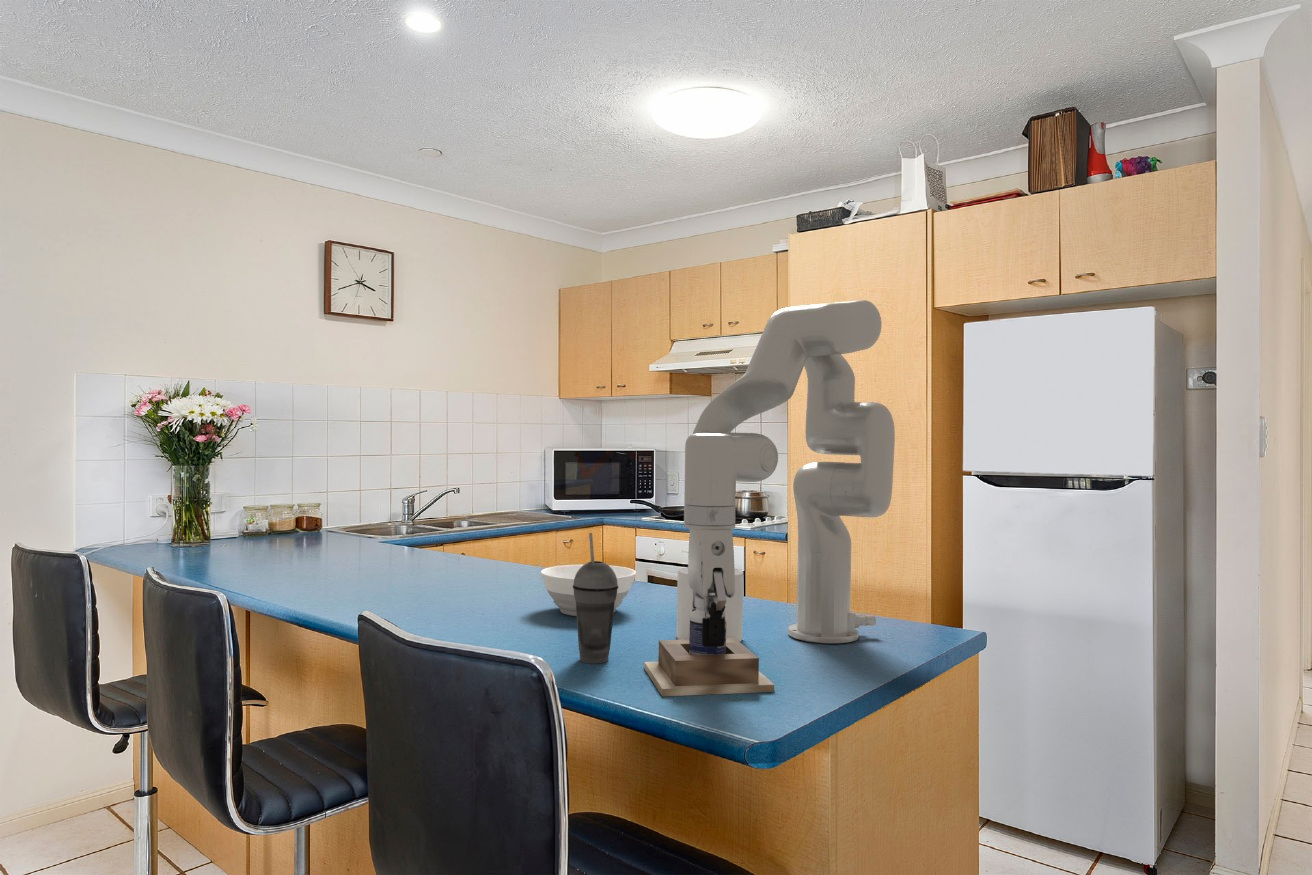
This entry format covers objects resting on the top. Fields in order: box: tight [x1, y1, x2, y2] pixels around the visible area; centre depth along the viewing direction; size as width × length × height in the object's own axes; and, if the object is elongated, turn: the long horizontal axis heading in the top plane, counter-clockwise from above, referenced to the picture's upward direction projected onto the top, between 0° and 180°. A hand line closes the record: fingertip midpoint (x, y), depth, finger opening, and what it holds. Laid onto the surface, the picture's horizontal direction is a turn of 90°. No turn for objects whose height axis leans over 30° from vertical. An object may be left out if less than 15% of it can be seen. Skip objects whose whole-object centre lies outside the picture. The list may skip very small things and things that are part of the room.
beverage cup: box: [573, 532, 619, 664], centre depth 130 cm, size 7×7×20 cm
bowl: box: [540, 563, 637, 617], centre depth 167 cm, size 20×20×8 cm
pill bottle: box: [689, 595, 726, 655], centre depth 120 cm, size 5×5×10 cm
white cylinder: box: [676, 566, 744, 643], centre depth 146 cm, size 12×12×12 cm
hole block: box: [643, 638, 775, 697], centre depth 120 cm, size 16×14×4 cm
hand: (707, 639), depth 120 cm, fingers closed on pill bottle, 5 cm apart
